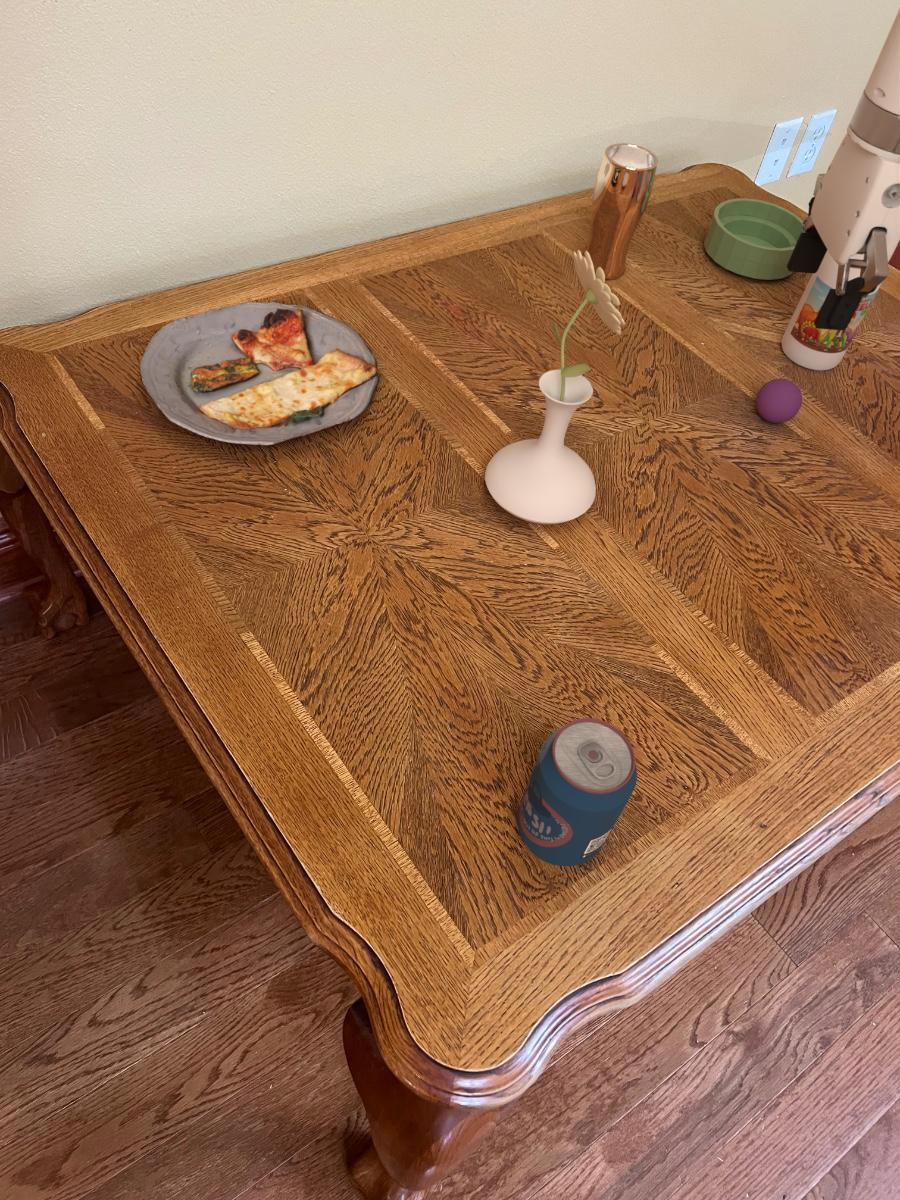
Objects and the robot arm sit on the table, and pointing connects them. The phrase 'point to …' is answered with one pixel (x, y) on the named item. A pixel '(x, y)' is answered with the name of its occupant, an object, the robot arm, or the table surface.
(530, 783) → the soda can
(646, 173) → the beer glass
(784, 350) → the milk bottle
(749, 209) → the bowl
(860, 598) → the table surface
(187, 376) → the food plate
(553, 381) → the flower in vase
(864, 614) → the table surface
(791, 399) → the ball
